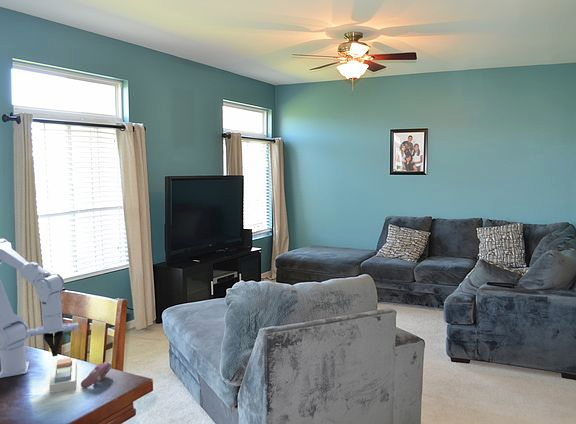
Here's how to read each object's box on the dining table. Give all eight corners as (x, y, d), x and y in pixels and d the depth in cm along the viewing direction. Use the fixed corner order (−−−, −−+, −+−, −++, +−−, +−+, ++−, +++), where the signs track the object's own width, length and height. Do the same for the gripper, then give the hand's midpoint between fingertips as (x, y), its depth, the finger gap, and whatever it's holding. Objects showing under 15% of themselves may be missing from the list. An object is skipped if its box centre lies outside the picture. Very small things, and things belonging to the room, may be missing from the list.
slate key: (56, 379, 153) (55, 373, 152) (70, 376, 154) (69, 370, 154) (55, 384, 149) (55, 378, 149) (70, 382, 150) (69, 375, 150)
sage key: (57, 375, 158) (57, 369, 157) (71, 372, 159) (70, 367, 159) (56, 380, 154) (56, 374, 154) (70, 377, 156) (70, 371, 155)
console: (53, 369, 164) (53, 362, 163) (76, 365, 166) (76, 358, 166) (50, 393, 147) (49, 385, 147) (75, 388, 150) (75, 380, 149)
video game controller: (91, 394, 149) (98, 375, 148) (78, 387, 150) (86, 368, 148) (108, 379, 159) (116, 361, 157) (97, 372, 159) (104, 354, 158)
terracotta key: (58, 365, 163) (57, 359, 162) (71, 363, 164) (70, 357, 164) (57, 370, 159) (56, 364, 159) (71, 368, 160) (70, 362, 160)
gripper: (24, 320, 148) (28, 364, 150) (76, 314, 154) (79, 355, 156) (27, 313, 155) (30, 355, 157) (77, 307, 160) (80, 347, 162)
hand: (55, 355), depth 157 cm, fingers closed
